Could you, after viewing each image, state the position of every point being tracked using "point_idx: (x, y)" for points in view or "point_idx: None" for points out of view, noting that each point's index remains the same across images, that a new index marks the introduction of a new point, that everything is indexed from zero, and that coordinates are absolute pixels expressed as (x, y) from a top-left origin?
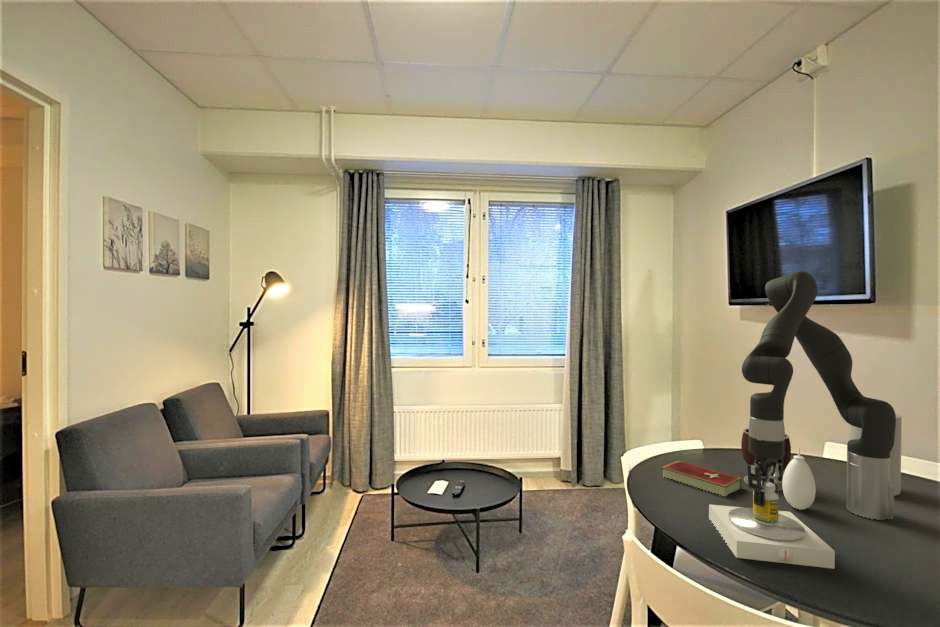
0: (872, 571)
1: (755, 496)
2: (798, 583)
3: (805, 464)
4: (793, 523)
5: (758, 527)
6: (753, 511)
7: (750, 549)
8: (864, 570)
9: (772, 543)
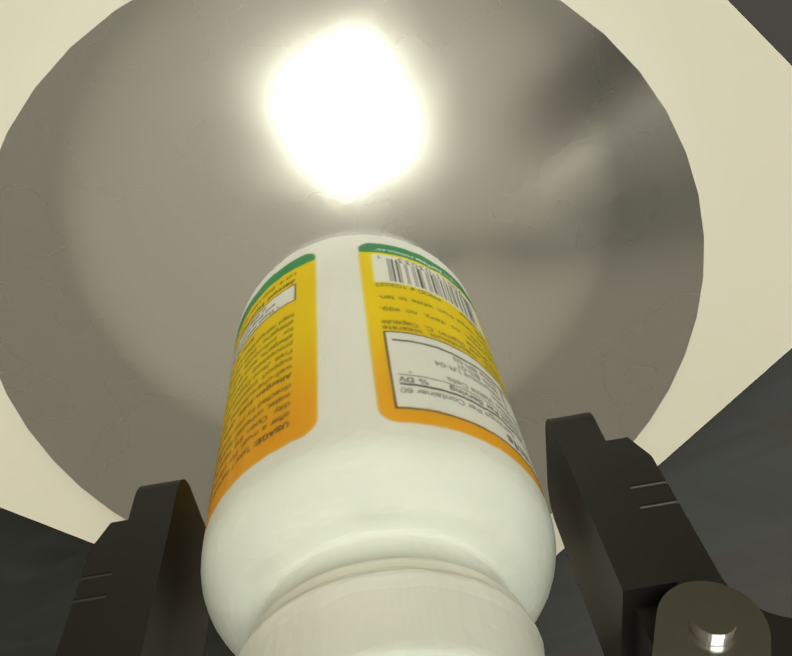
0: (568, 630)
1: (78, 624)
2: (47, 598)
3: None
4: None
5: (152, 391)
6: (257, 321)
7: None
8: (543, 617)
9: (81, 524)
